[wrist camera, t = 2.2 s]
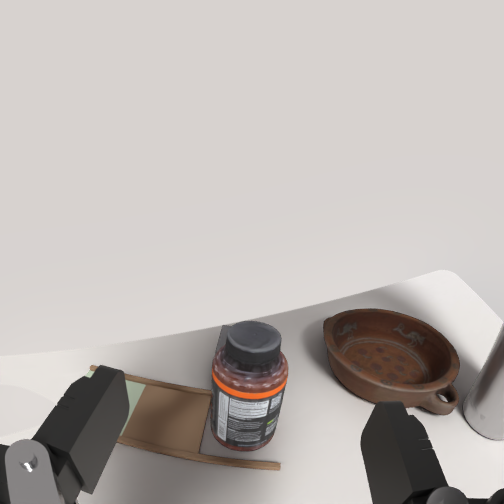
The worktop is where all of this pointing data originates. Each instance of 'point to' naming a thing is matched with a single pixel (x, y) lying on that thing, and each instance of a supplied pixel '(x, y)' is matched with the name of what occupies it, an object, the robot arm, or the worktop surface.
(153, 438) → the board
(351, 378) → the dish
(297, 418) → the worktop surface
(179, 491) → the worktop surface
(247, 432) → the supplement bottle
